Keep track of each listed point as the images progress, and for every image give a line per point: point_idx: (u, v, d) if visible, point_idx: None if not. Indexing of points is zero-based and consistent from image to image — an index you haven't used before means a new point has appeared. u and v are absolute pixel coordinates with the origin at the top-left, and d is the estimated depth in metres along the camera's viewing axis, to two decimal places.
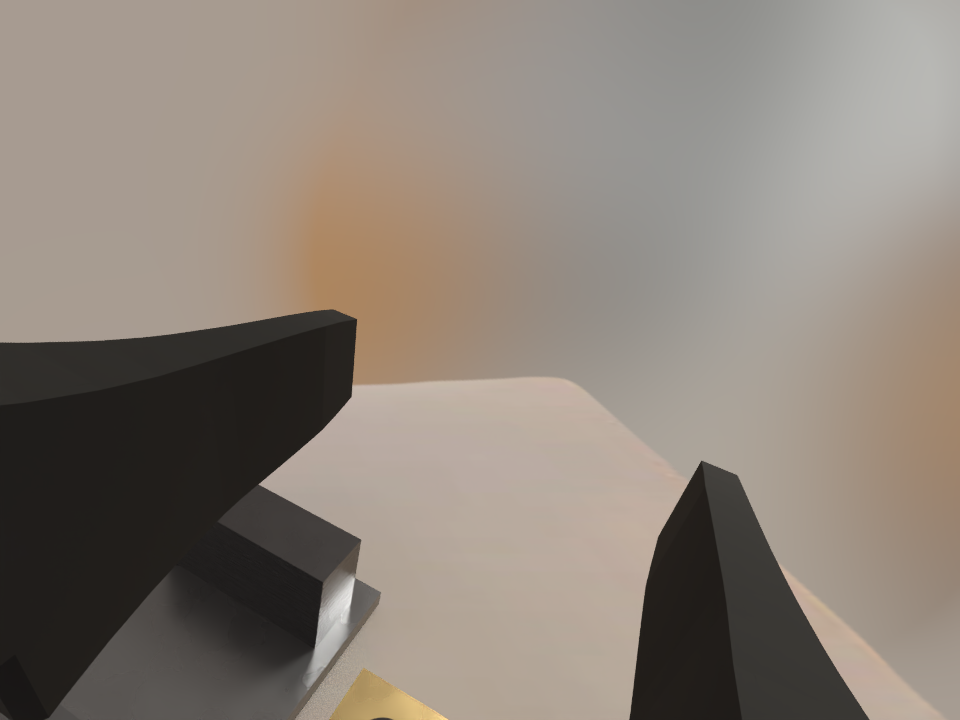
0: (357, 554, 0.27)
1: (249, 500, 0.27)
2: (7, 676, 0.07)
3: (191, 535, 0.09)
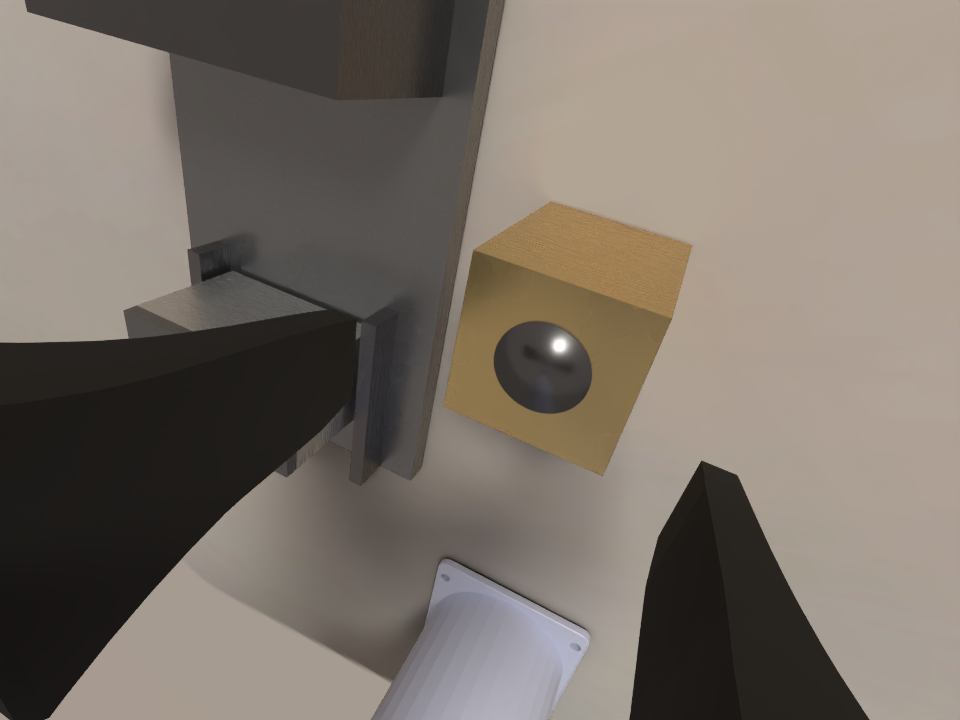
0: None
1: None
2: (7, 675, 0.07)
3: (191, 535, 0.09)
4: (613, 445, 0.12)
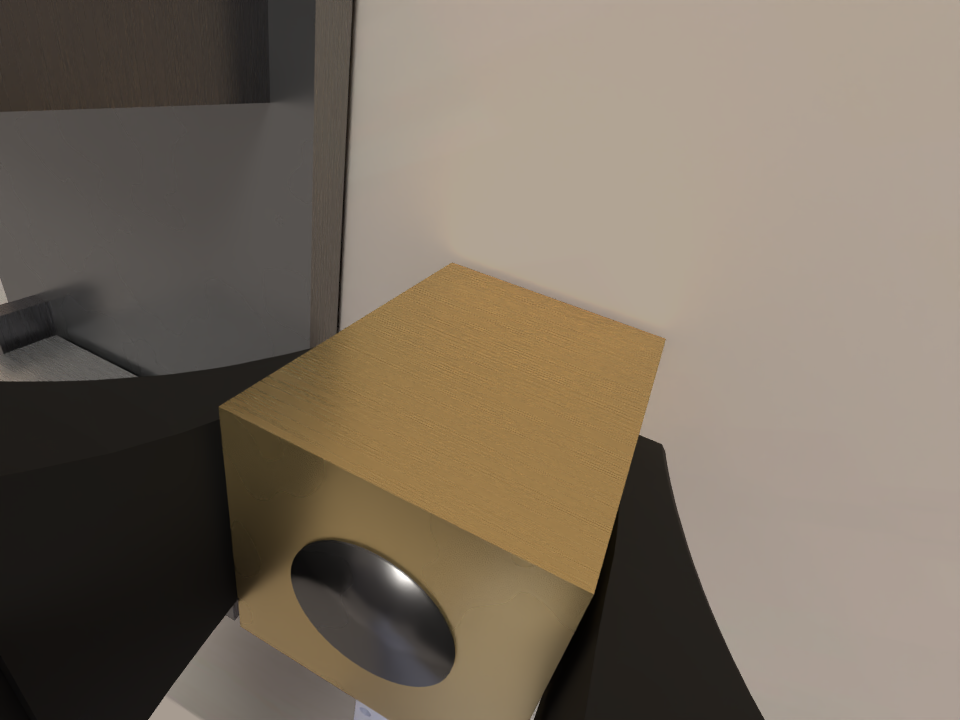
0: None
1: None
2: None
3: None
4: None
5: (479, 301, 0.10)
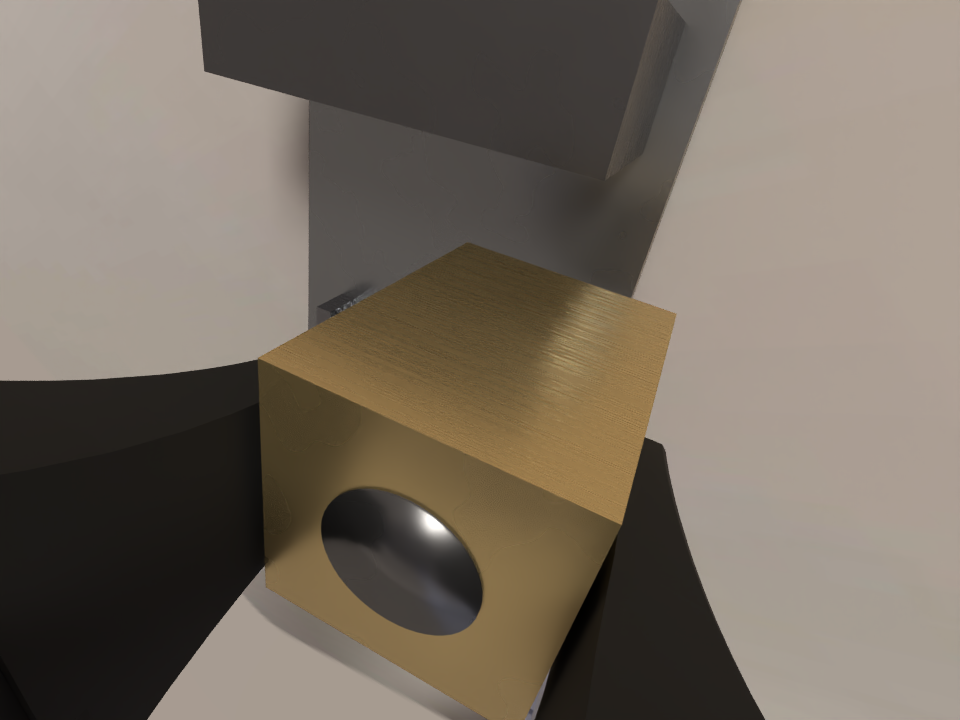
0: (664, 8, 0.09)
1: (341, 6, 0.10)
2: None
3: (250, 570, 0.08)
4: (529, 699, 0.07)
5: (496, 276, 0.10)
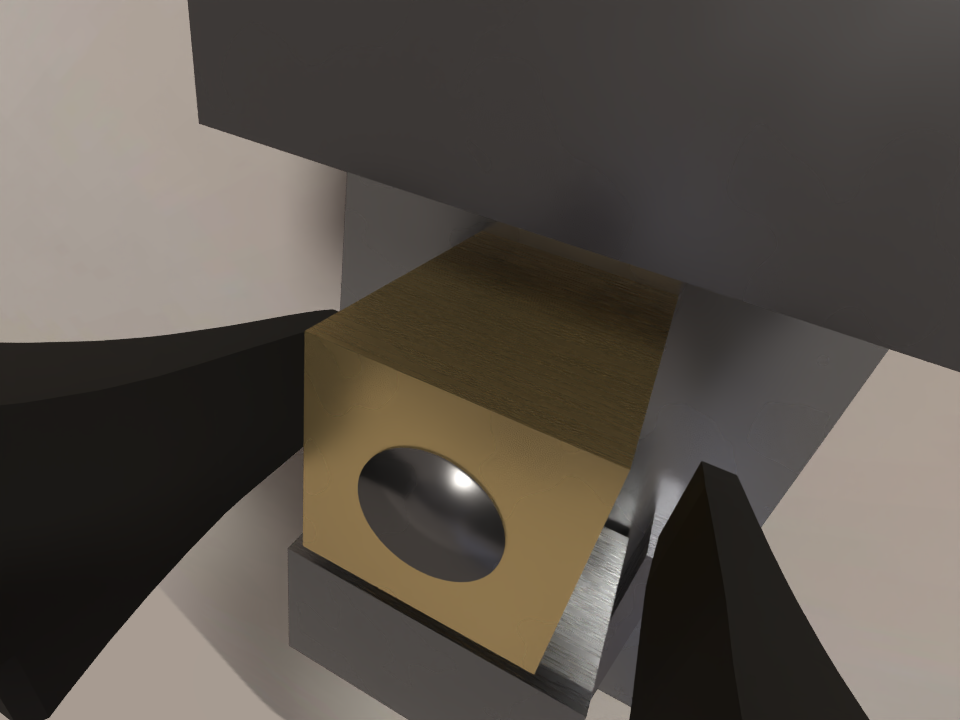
0: None
1: (460, 23, 0.05)
2: (7, 675, 0.07)
3: (191, 535, 0.09)
4: (546, 637, 0.08)
5: (510, 261, 0.11)
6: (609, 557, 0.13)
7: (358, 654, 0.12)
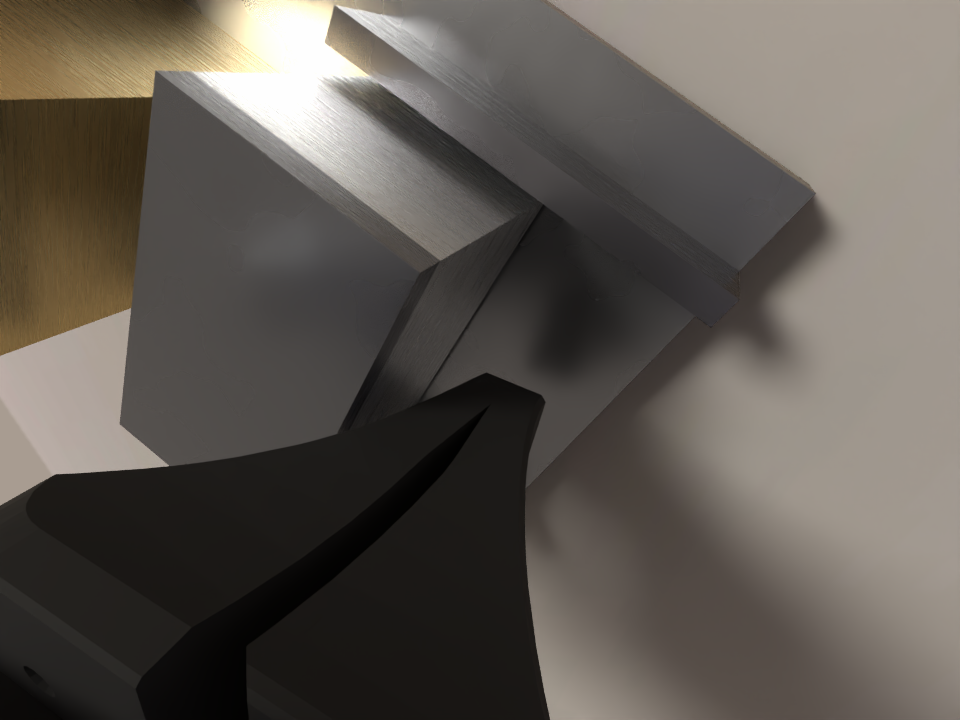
0: None
1: None
2: None
3: None
4: None
5: None
6: None
7: (235, 441, 0.09)
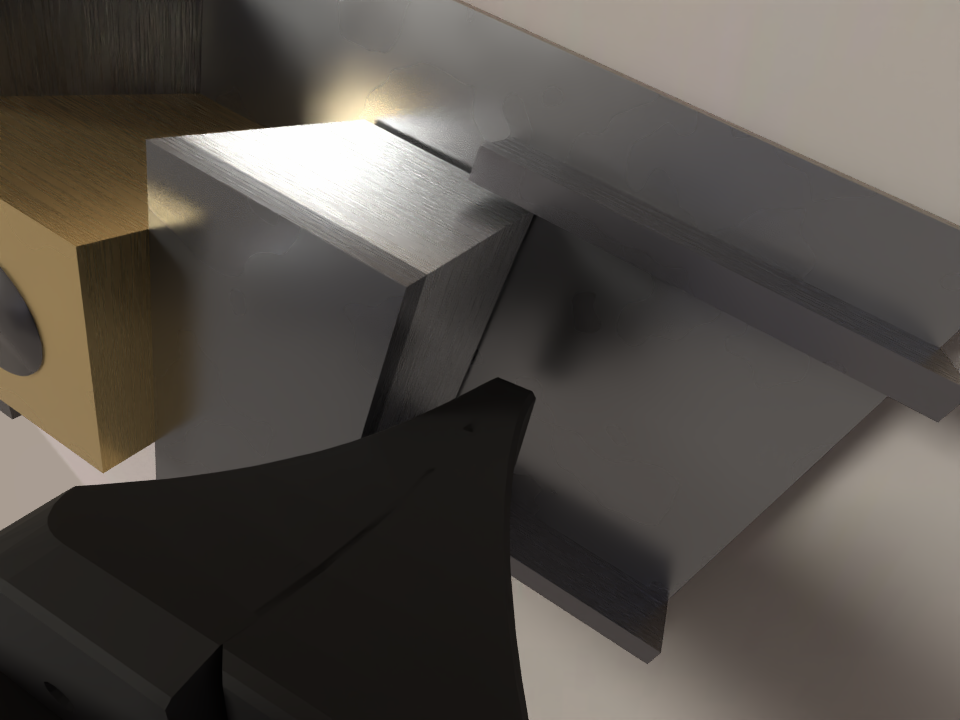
0: None
1: None
2: None
3: None
4: (20, 215, 0.07)
5: None
6: None
7: None
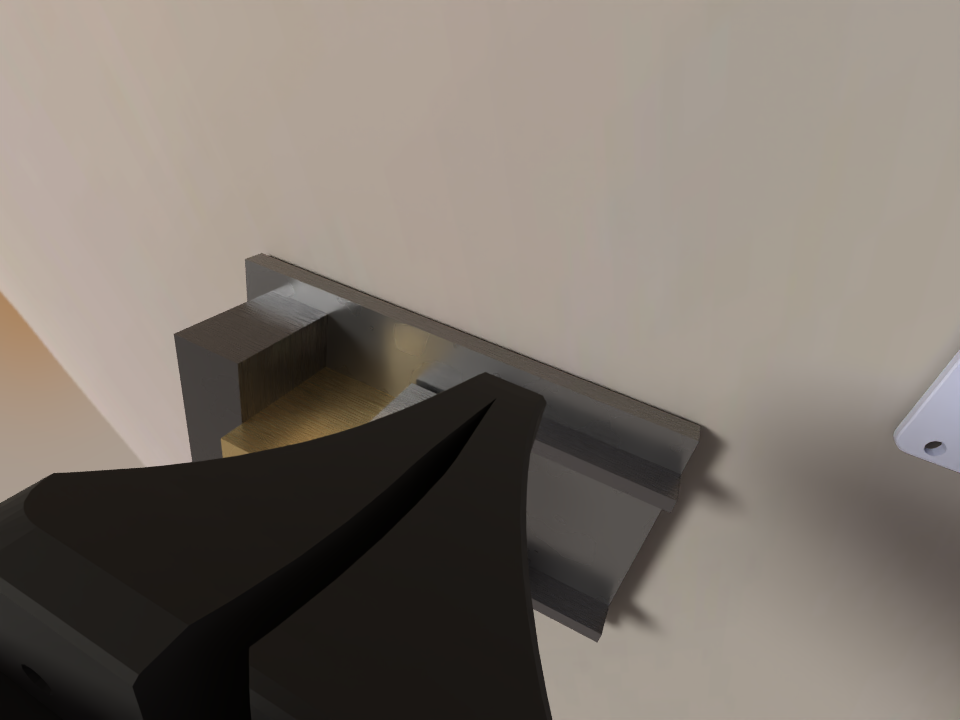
0: (198, 325, 0.20)
1: None
2: None
3: None
4: None
5: None
6: None
7: None
